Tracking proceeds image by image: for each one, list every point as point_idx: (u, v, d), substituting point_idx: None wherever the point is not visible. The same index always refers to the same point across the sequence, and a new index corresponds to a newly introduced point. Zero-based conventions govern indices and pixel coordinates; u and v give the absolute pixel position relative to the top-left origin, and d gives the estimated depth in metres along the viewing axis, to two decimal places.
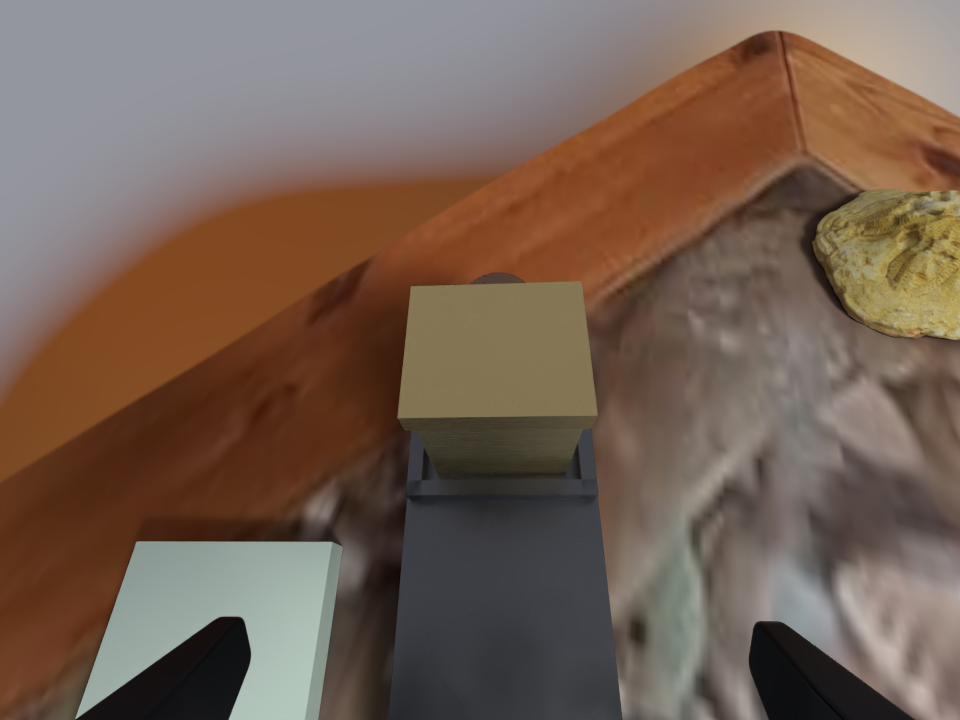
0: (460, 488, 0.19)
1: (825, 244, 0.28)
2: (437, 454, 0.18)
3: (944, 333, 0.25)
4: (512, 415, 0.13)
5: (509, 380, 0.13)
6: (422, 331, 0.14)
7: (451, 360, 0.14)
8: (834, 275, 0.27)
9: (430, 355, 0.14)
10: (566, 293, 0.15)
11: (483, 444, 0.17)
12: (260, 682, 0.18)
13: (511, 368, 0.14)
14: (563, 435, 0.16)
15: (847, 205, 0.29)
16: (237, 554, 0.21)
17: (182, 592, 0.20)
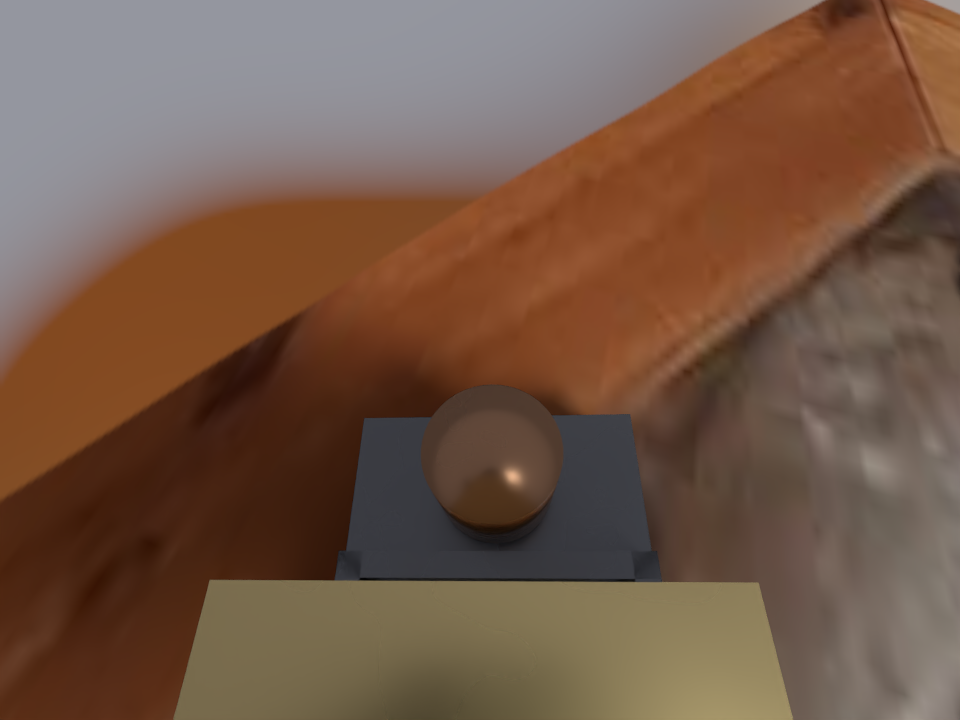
0: None
1: None
2: None
3: None
4: None
5: None
6: None
7: None
8: None
9: None
10: (714, 636, 0.04)
11: None
12: None
13: None
14: None
15: None
16: None
17: None
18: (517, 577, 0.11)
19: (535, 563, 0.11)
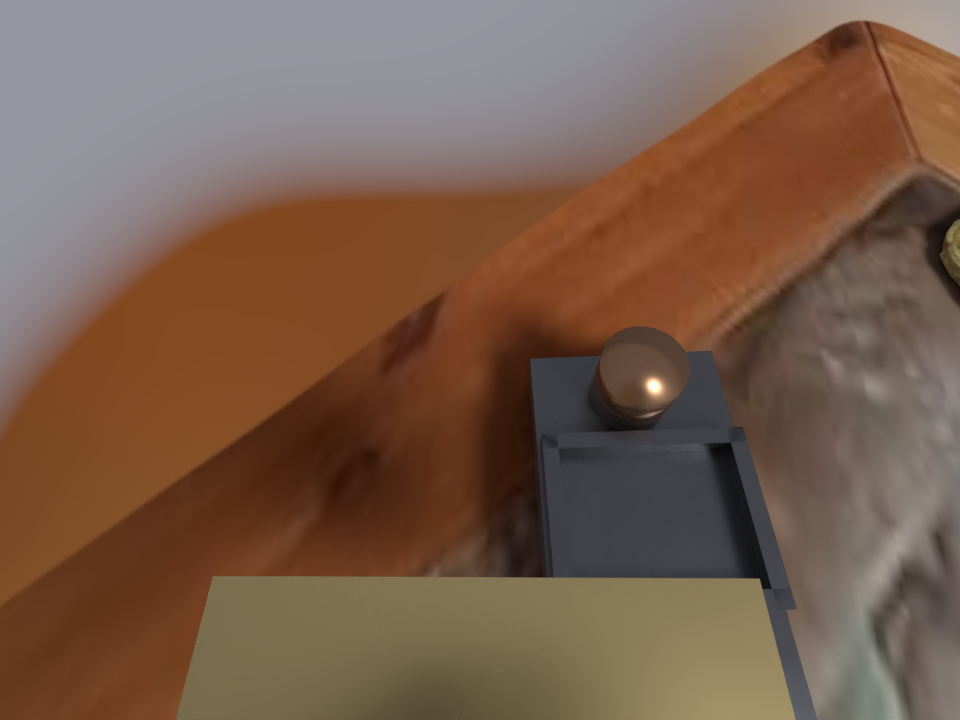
0: None
1: None
2: None
3: None
4: None
5: None
6: None
7: None
8: None
9: None
10: (716, 631, 0.04)
11: None
12: None
13: None
14: None
15: None
16: None
17: None
18: (658, 444, 0.18)
19: (668, 436, 0.18)
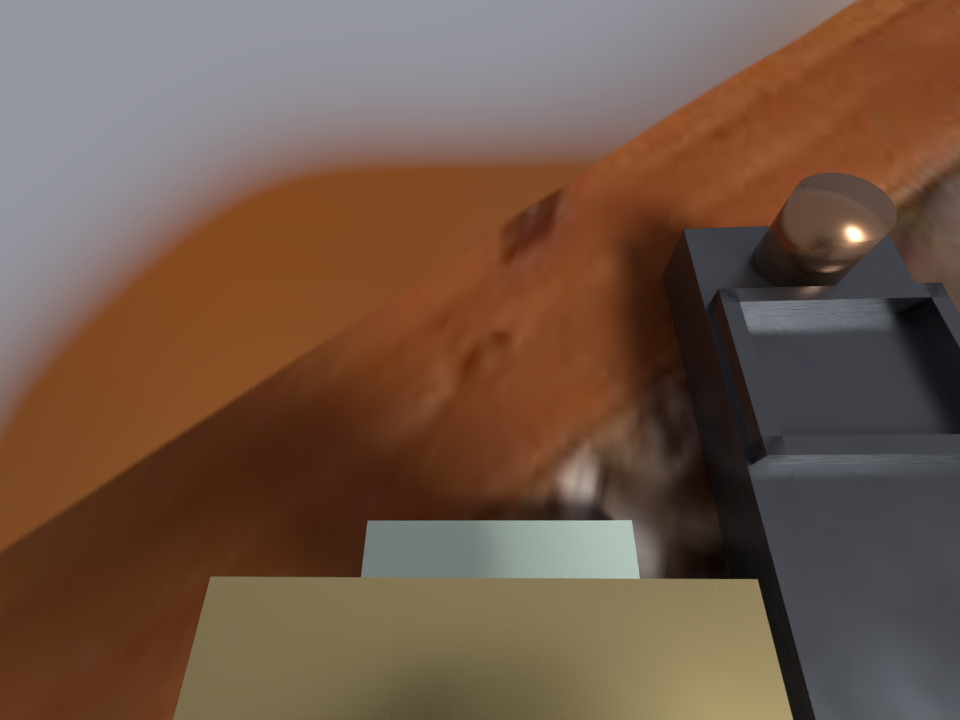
0: (840, 446, 0.14)
1: None
2: None
3: None
4: None
5: None
6: None
7: None
8: None
9: None
10: (714, 632, 0.04)
11: None
12: None
13: None
14: None
15: None
16: (507, 537, 0.16)
17: None
18: (849, 298, 0.16)
19: (859, 291, 0.17)
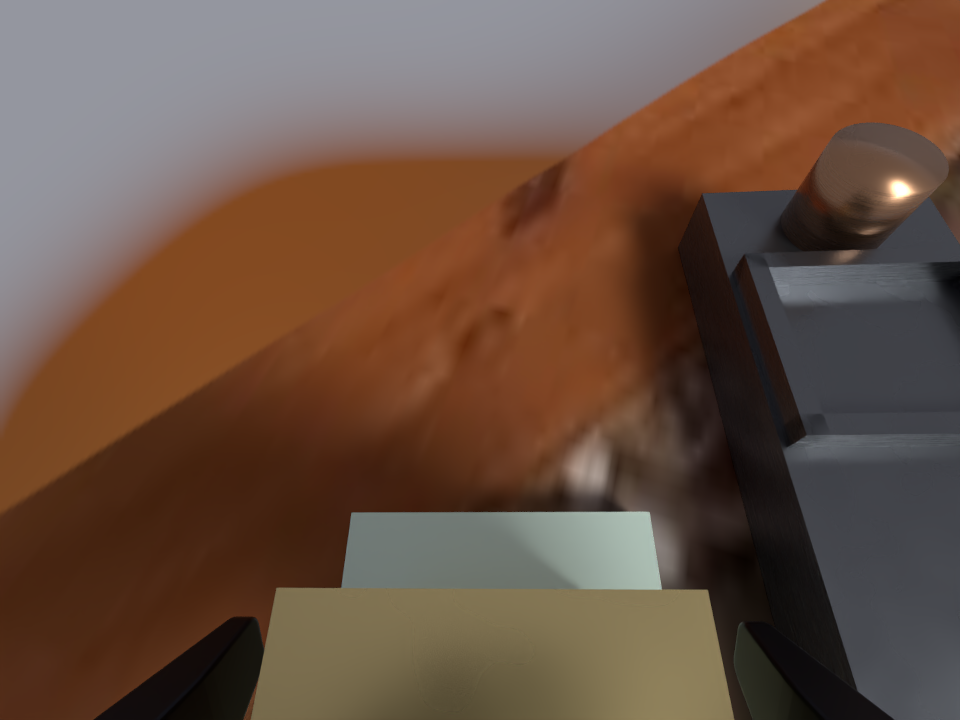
0: (891, 425, 0.12)
1: None
2: None
3: None
4: None
5: None
6: None
7: None
8: None
9: None
10: (672, 631, 0.06)
11: None
12: None
13: None
14: None
15: None
16: (508, 530, 0.14)
17: (439, 586, 0.13)
18: (893, 263, 0.15)
19: (903, 255, 0.15)
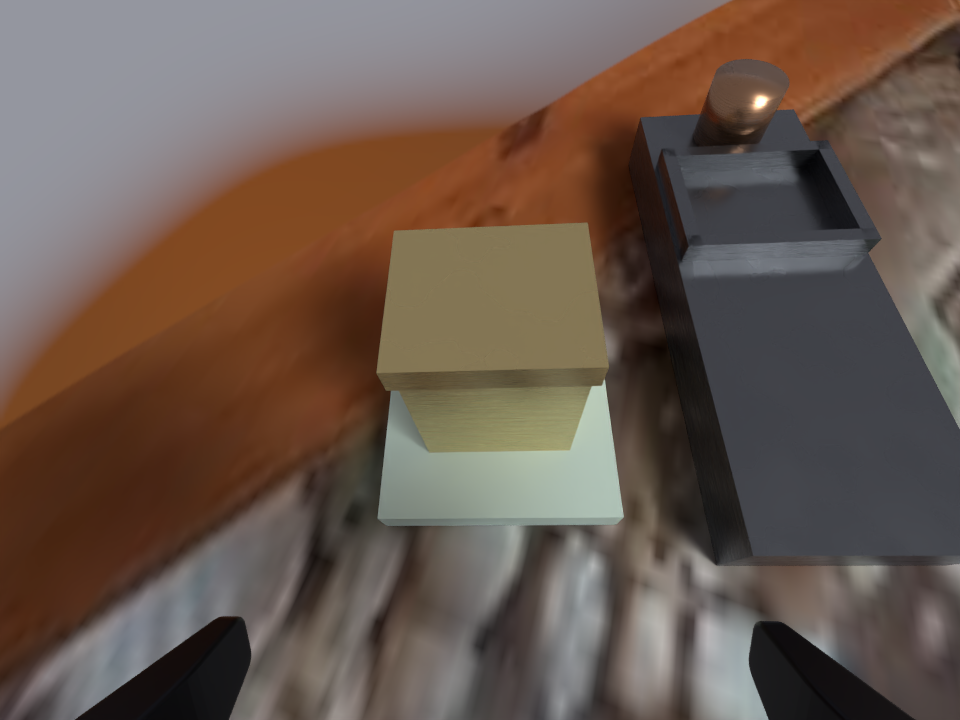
0: (741, 239, 0.20)
1: None
2: (427, 425, 0.16)
3: None
4: (509, 368, 0.11)
5: (506, 330, 0.12)
6: (406, 278, 0.13)
7: (439, 309, 0.12)
8: None
9: (415, 304, 0.12)
10: (570, 235, 0.13)
11: (477, 412, 0.15)
12: None
13: (508, 317, 0.12)
14: (568, 400, 0.14)
15: None
16: None
17: None
18: (758, 152, 0.22)
19: (766, 147, 0.22)
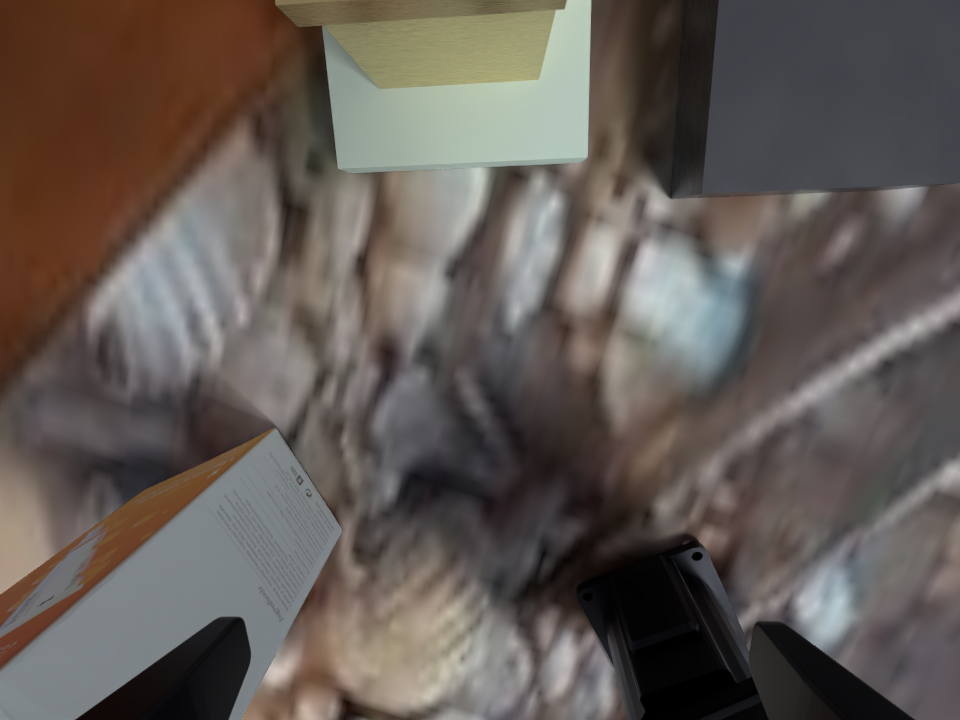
0: None
1: None
2: (367, 60, 0.14)
3: None
4: None
5: None
6: None
7: None
8: None
9: None
10: None
11: (423, 42, 0.12)
12: None
13: None
14: (530, 22, 0.11)
15: None
16: None
17: None
18: None
19: None
